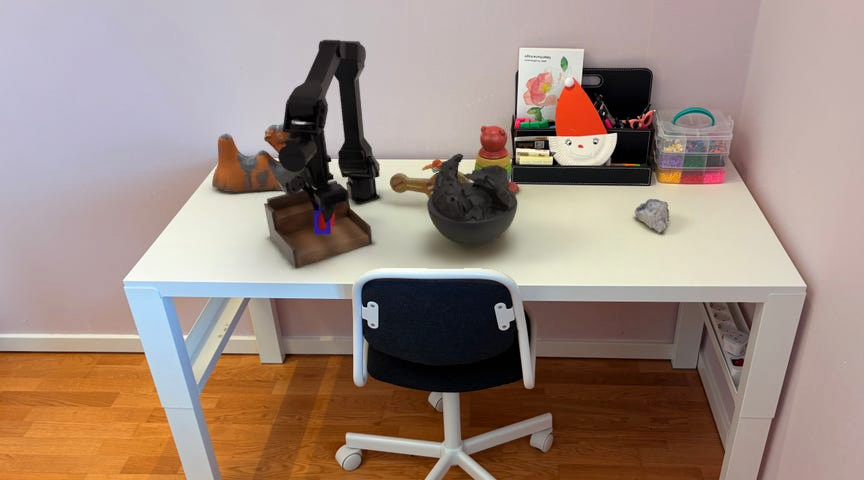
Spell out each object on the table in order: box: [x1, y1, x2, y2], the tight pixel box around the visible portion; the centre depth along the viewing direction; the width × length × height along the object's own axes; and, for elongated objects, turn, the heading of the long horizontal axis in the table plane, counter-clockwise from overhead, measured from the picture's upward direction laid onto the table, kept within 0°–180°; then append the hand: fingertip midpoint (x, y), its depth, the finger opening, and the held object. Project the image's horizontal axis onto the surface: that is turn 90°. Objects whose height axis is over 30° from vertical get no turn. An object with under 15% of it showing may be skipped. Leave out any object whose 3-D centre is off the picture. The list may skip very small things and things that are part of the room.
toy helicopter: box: [389, 158, 471, 199], centre depth 178 cm, size 8×21×14 cm, turn 72°
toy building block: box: [314, 206, 335, 235], centre depth 162 cm, size 4×4×8 cm
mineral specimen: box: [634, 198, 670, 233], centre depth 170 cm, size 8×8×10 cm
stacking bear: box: [474, 125, 520, 195], centre depth 183 cm, size 11×10×18 cm
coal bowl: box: [426, 153, 518, 247], centre depth 162 cm, size 20×20×19 cm
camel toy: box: [211, 120, 297, 194], centre depth 190 cm, size 25×13×17 cm, turn 82°
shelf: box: [263, 180, 373, 269], centre depth 166 cm, size 19×16×10 cm
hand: (322, 217), depth 162 cm, fingers closed on toy building block, 5 cm apart
